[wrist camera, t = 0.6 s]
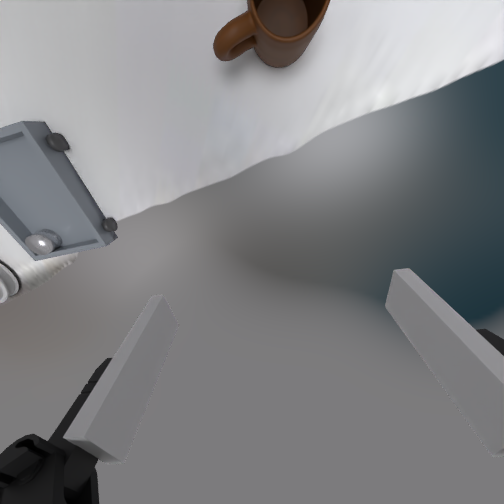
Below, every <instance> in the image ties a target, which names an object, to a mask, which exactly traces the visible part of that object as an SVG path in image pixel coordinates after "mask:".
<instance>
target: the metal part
mask: <svg viewBox="0 0 504 504" xmlns="http://www.w3.org/2000/svg"><path fill="white" fill-rule="evenodd" d="M62 243H63V242H62V239H61V237H60V236H59V235H58V234H57V233H56V232H54V231H52V230H49V229H43V230H41V231H39V232H37V233H35V234H33V235H30V236H28V237H27V238H26V239H25V244H26V246H27V247H28V248H29V249H30V250H31V251H32V252H34V253H36V254H39V255H47V254H49V253H50V252H52V251H54V250H55V249H57V248H59V247H60V246H62Z"/></svg>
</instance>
